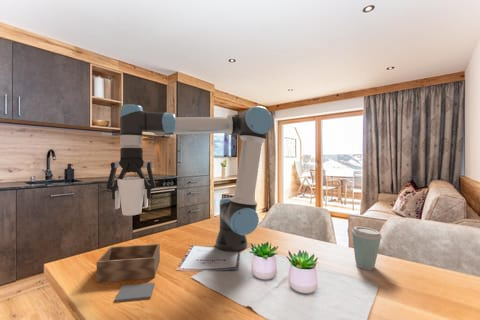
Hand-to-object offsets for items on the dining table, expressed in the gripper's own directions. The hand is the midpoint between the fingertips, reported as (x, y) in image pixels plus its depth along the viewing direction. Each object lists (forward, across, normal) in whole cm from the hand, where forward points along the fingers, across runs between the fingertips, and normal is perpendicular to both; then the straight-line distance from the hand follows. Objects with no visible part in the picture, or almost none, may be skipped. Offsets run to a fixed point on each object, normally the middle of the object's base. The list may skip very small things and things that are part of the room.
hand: (132, 207), depth 88 cm
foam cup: (+2, 0, 0) cm, 2 cm away
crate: (+24, 0, 0) cm, 24 cm away
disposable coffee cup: (+25, -90, +12) cm, 94 cm away
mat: (+24, -5, +15) cm, 29 cm away
